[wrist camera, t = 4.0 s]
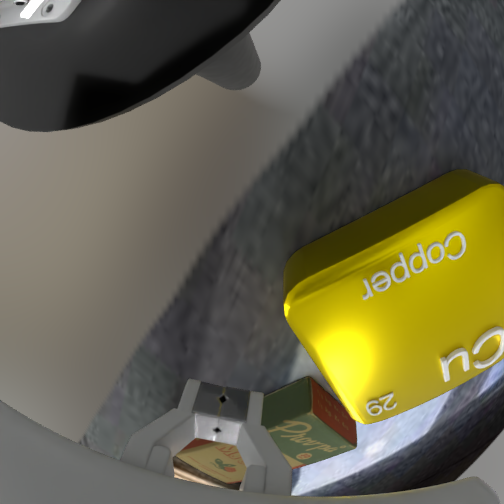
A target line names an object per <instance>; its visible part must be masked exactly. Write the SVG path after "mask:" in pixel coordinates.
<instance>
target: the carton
mask: <svg viewBox="0 0 504 504" xmlns="http://www.w3.org/2000/svg"><path fill="white" fill-rule="evenodd" d="M261 426H265V428H266V429H267V431H268V432H269V434H270V436H271V437H272V439H273V440H274V442H275V443H276V445H277V446H278V448H279V449H280V451H281V452H282V454H283V455H284V457H285V458H286V460H287V461H288V463H289V464H290V466H291V467H292V469H295V468H299V467H302V466H306V465H309V464H312V463H316V462H319V461H322V460H325V459H328V458H331V457H333V456H336V455H339V454H342V453H344V452H347V451H350V450H353V449H355V448H356V447H357V432H356V421H355V420H354V419H352V418H351V416H350V415H349V413H348V412H347V410H346V409H345V408H344V407H343V406H342V405H341V404H339V403H338V402H337V401H336V400H335V399H334V398H333V397H332V396H331V395H329V394H328V393H327V392H326V391H325V390H324V389H323V388H322V387H321V386H320V385H318V384H317V383H316V382H315V381H314V380H313V379H312V378H311V377H304V379H300V380H298V381H296V382H294V383H292V384H290V385H287V386H285V387H283V388H281V389H279V390H277V391H274V392H272V393H270V394H268V395H265V396H264V398H263V408H262V418H261ZM176 456H177V457H178V458H180V459H182V460H183V461H185V462H187V463H188V464H190V465H192V466H193V467H195V468H197V469H199V470H201V471H202V472H205V473H206V474H208V475H211V476H213V477H215V478H217V479H219V480H221V481H223V482H225V483H228V484H231V483H237V482H242V480H243V477H244V475H245V472H246V469H247V467H246V465H245V463H244V461H243V459H242V457H241V455H240V453H239V451H238V449H237V447H236V445H231V444H226V443H221V442H217V441H211V440H206V439H200V438H195V439H194V440H192V441H191V442H190V443H189V444H188V445H187V446H185V447H184V448H183V449H182V450H181V451H180V452H178V453H177V454H176Z"/></svg>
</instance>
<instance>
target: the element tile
mask: <svg viewBox="0 0 504 504" xmlns="http://www.w3.org/2000/svg"><path fill="white" fill-rule="evenodd" d="M283 305H284V315H285V317H286V319H287V322H288V324H289V326H290V327H291V329H292V330H293V332H294V333H295V335H296V336H297V338H298V339H299V341H300V342H301V344H302V345H303V346H304V348H305V349H306V351H307V352H308V354H309V355H310V357H311V358H312V360H313V361H314V363H315V364H316V366H317V367H318V369H319V370H320V372H321V373H322V375H323V376H324V378H325V379H326V381H327V382H328V384H329V385H330V387H331V388H332V390H333V391H334V393H335V394H336V396H337V397H338V399H339V400H340V402H341V403H342V404H343V406H344V407H345V409H346V410H347V412H348V413H349V415H350V416H351V418H352V419H354V420H355V421H358V422H360V423H363V424H372V423H375V422H379V421H382V420H385V419H388V418H390V417H393V416H395V415H398V414H400V413H403V412H405V411H407V410H410V409H412V408H414V407H416V406H419V405H421V404H423V403H425V402H427V401H429V400H431V399H434V398H436V397H438V396H440V395H442V394H444V393H446V392H448V391H449V390H451V389H453V388H455V387H457V386H459V385H461V384H463V383H464V382H466V381H468V380H470V379H472V378H473V377H475V376H477V375H478V374H480V373H482V372H483V371H485V370H487V369H488V368H490V367H492V366H493V365H495V364H496V363H498V362H499V361H501V360H502V359H503V358H504V186H503V185H501V184H500V183H498V182H496V181H493V180H491V179H489V178H487V177H484V176H482V175H479V174H477V173H474V172H472V171H469V170H467V169H457V170H454V171H451V172H448V173H446V174H444V175H442V176H441V177H439V178H437V179H435V180H433V181H431V182H429V183H427V184H425V185H423V186H422V187H420V188H418V189H416V190H414V191H412V192H410V193H408V194H406V195H404V196H402V197H400V198H398V199H396V200H395V201H393V202H391V203H389V204H387V205H385V206H383V207H381V208H379V209H377V210H375V211H373V212H371V213H369V214H367V215H365V216H363V217H361V218H359V219H357V220H355V221H353V222H351V223H349V224H348V225H346V226H344V227H342V228H340V229H338V230H336V231H334V232H332V233H330V234H328V235H326V236H324V237H322V238H320V239H318V240H316V241H314V242H312V243H310V244H308V245H306V246H304V247H302V248H301V249H299V250H298V251H296V252H295V253H294V254H293V255H292V256H291V257H290V258H289V260H288V261H287V263H286V266H285V269H284V278H283Z"/></svg>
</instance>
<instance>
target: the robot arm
mask: <svg viewBox="0 0 504 504" xmlns="http://www.w3.org/2000/svg"><path fill="white" fill-rule="evenodd" d="M80 2H81V0H0V28H3V27H10V26H18V25H27V24H37V23H53V22H61V21H63V20H65V19H66V18H68V17H69V16H70V15H71V13H72V12H73V11H74V10H75V8H76V7H77V6H78V4H79V3H80ZM263 398H264V394H263V393H261V392H254V391H251V392H250V390H243V389H237V388H231V387H223V386H219V385H214V384H210V383H206V382H202V381H197V380H193V379H188V381H187V383H186V386H185V389H184V391H183V394H182V397H181V400H180V403H179V406H178V408H177V409H175V408H173V409H172V410H170V411H169V412H167V413H166V414H164V415H163V416H161V417H160V418H158V419H157V420H155V421H153V422H152V423H150V424H149V425H147V426H145V427H144V428H142V429H141V430H139V431H137V432H136V433H134V434H132V435H131V436H130V439H129V441H128V443H127V446H126V448H125V450H124V452H123V455H122V457H121V459H120V460H117V459H115V458H112V457H109V456H107V455H104V454H102V453H99V452H97V451H94V450H92V449H90V448H87V447H85V446H83V445H81V444H78V443H76V442H74V441H72V440H70V439H67V438H66V437H63V436H62V435H59V434H58V433H56V432H53V431H52V430H50V429H48V428H46V427H44V426H42V425H41V424H39V423H37V422H35V421H33V420H32V419H30V418H28V417H26V416H25V415H23V414H21V413H20V412H18V411H17V410H15V409H13V408H12V407H10V406H8V405H7V404H6V403H4V402H2V401H1V400H0V504H500V501H499V498H498V495H497V493H496V491H494V490H493V489H492V488H491V487H490V486H489V485H488V484H487V483H485V482H484V481H483V480H481V479H480V478H478V477H469V478H465V479H462V480H458V481H454V482H449V483H445V484H441V485H436V486H431V487H426V488H420V489H414V490H408V491H401V492H394V493H385V494H375V495H363V496H343V497H305V496H291V486H292V467H291V466H290V464H289V463H288V461H287V460H286V458H285V457H284V455H283V454H282V452H281V451H280V449H279V448H278V446H277V445H276V443H275V442H274V440H273V439H272V437H271V436H270V434H269V432H268V431H267V429H266V428H265V426H261V418H262V408H263ZM195 438H200V439H206V440H211V441H217V442H221V443H226V444H231V445H236V447H237V449H238V451H239V453H240V455H241V457H242V459H243V461H244V463H245V465H246V467H247V469H246V472H245V475H244V477H243V480H242V483H241V485H240V488H239V490H232V489H226V488H220V487H215V486H209V485H205V484H200V483H195V482H191V481H187V480H182V479H178V478H174V468H173V461H172V457H174V456H175V455H176V454H177V453H178V452H180V451H181V450H182V449H183V448H184V447H185V446H187V445H188V444H189V443H190V442H191V441H192V440H194V439H195Z"/></svg>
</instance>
